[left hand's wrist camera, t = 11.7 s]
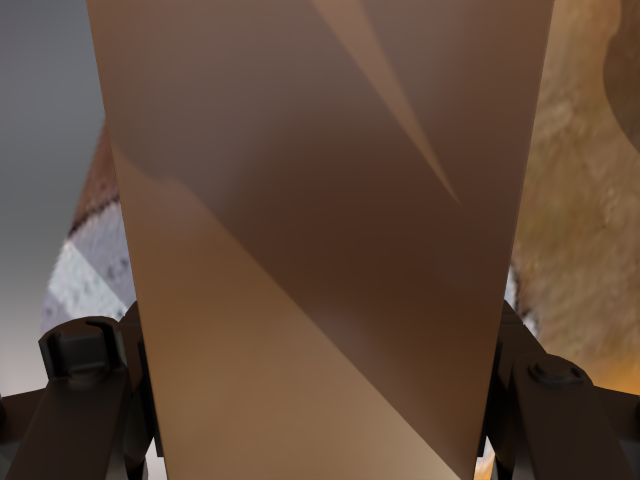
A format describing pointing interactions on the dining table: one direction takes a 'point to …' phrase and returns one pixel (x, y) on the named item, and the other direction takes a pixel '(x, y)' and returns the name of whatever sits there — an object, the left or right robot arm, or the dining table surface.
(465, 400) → the beam
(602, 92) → the dining table surface
